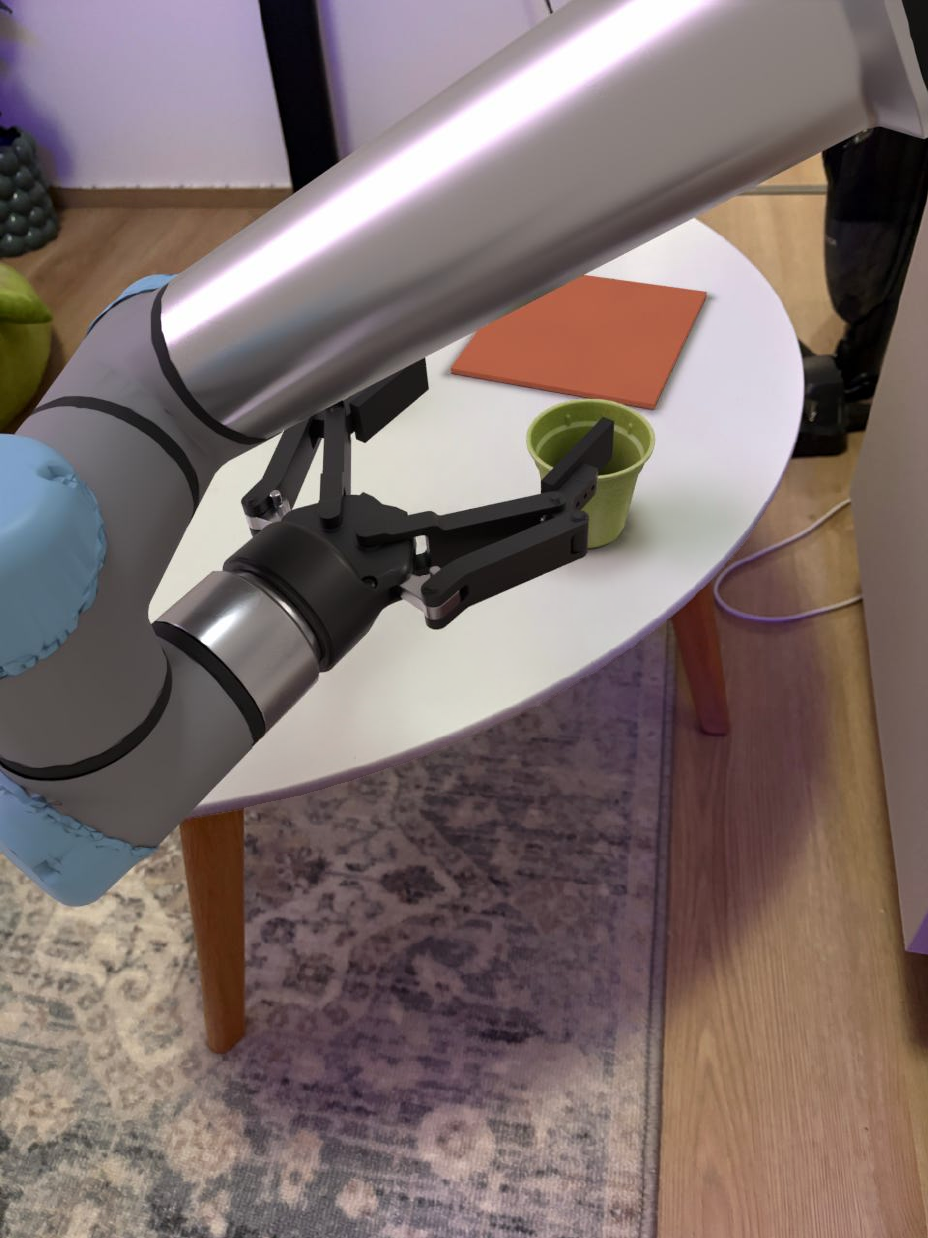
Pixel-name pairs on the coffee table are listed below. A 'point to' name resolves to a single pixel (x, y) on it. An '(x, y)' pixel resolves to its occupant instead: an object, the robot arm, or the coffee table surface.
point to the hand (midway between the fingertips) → (510, 401)
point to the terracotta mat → (588, 340)
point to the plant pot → (618, 478)
